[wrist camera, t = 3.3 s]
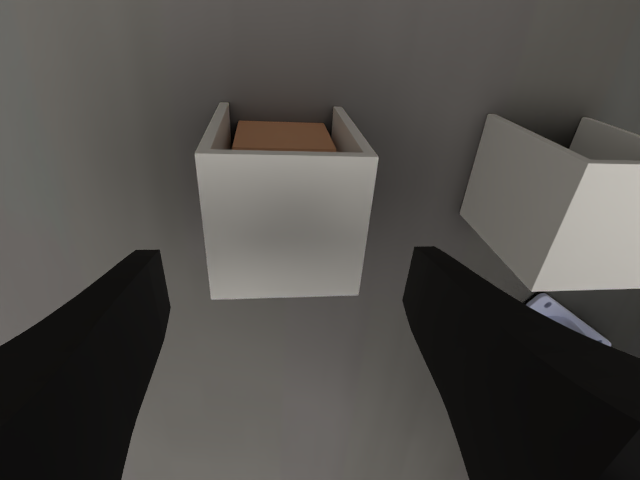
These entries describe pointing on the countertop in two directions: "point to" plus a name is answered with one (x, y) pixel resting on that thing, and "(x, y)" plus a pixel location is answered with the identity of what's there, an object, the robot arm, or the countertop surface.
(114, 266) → the robot arm
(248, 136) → the cube
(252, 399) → the countertop surface
